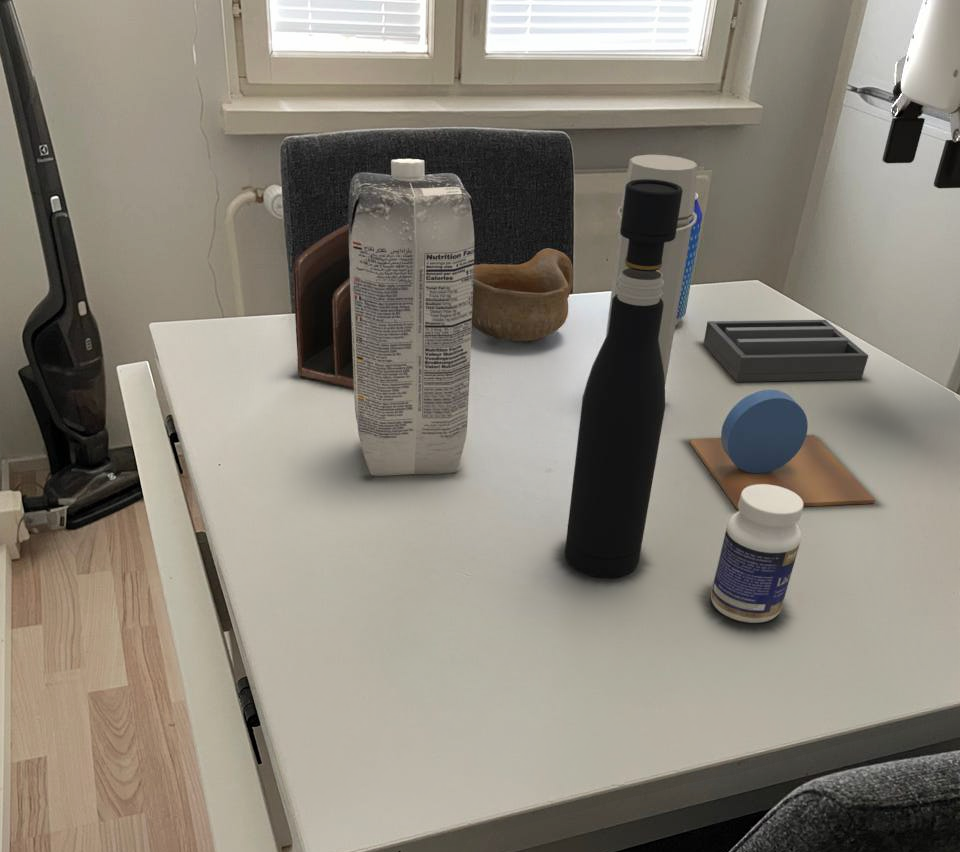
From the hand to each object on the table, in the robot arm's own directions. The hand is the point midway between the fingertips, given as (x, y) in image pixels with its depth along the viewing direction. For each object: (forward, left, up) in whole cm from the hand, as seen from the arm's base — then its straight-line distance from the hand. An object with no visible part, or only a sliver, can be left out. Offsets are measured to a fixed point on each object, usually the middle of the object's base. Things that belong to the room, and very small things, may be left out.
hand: (922, 174), depth 96 cm
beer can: (+14, -31, -25) cm, 42 cm away
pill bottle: (+26, +34, -25) cm, 50 cm away
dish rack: (+2, -16, -25) cm, 30 cm away
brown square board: (+14, +12, -25) cm, 31 cm away
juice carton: (+51, +7, -25) cm, 57 cm away
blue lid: (+14, +12, -24) cm, 31 cm away
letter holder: (+52, -20, -25) cm, 61 cm away
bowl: (+33, -28, -25) cm, 50 cm away
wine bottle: (+36, +26, -25) cm, 51 cm away
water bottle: (+25, -4, -25) cm, 36 cm away
